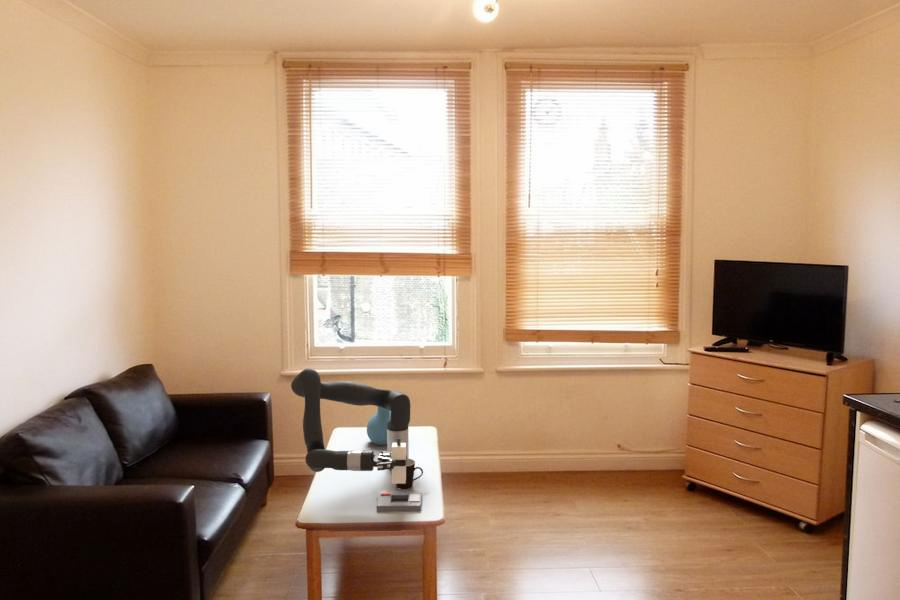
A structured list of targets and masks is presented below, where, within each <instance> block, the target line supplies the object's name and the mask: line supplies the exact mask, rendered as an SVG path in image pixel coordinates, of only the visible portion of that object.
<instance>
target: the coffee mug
mask: <svg viewBox="0 0 900 600" xmlns="http://www.w3.org/2000/svg"><path fill="white" fill-rule="evenodd" d="M417 469H419V470H420V472H421V474H420V475H419V476H417V477H416V478H414V476H415V475H414V474H415V471H416V470H417ZM423 475H424V470H423V469H422V467H420V466H416V461H415V460H414V459H412V458H409V459H407V461H406V482H405V484H396V488H397V489H399V490H403V491H404V490H409V489H412V488H413V483H414V481H417V480H418V479H420V478H421V477H422V476H423Z"/></svg>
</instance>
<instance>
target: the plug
mask: <svg viewBox="0 0 900 600" xmlns="http://www.w3.org/2000/svg"><path fill="white" fill-rule="evenodd" d="M392 460H406V443H401V438H397V443H393V444H392ZM405 482H406V466H396V467H393V469H392V470H391V484H405Z"/></svg>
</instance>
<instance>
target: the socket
mask: <svg viewBox="0 0 900 600" xmlns="http://www.w3.org/2000/svg"><path fill="white" fill-rule="evenodd" d="M421 506H422V491H395V492H394V491H391V490H388V491H386V490H385V491H384V490H383V491H382V490H381V491H380V492H379V494H378V499H377V504H376V512H413V511H415V512H419V511H421V508H422V507H421Z"/></svg>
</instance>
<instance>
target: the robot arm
mask: <svg viewBox="0 0 900 600" xmlns="http://www.w3.org/2000/svg"><path fill="white" fill-rule="evenodd" d="M290 387H291V391H292V392H293V393H294V394H295V395H296V396H298V397H301V398H304V411H303V418H302V431H303V441H304V443H305V446H306V451H307V454H306V455H305V463H306V466H307V467H308V468H309V469H310V470H311V471H312V472H316V473H318V472H322V471H323V470H325V469H332V470H335V471H352V472H372V471H373V470H374V469H375V468H377V469H376V470H377V471H386V470H391V471H392V469H393V467H396V466H406V461H407V459H410V458H409V457H410V455H409V452H410V451H409V449H410V448H409V425H410V422H411V400H410V398H409V396H408V395H407V394H405V393H404V392H401V391H398V390H395V389H393V390H392V389H385V388H384V389H382V388H376V387H374V386H370V385H367V384H363V383H361V382H356V381H350V380H341V381H330V382H328V381H327V382H325V381H322V380H321V375H320V374H319V373H318V371H316V370H315V369H313V368H310V367H309V368H305V369H303V370H302V371H300V373H298V374H297V375H296V376H295V377H294V379H292V382H291V385H290ZM321 400H327V401H332V402H338V403H343V404H348V405H353V406H359V407H362V406H375V407H378V406H379V407H382V408H385V409H387V410H389V411H390V412H391V420H390V421H388V423H387V445H386V447H387V448H386V449H387V451H386V450H385V451H384V450H381V451H380V453H378V454H377V453H376V454H375V451H374V450H373V449H372V450H371V449H356V450H355V449H354V450H330V449H326V447H325V443H324V435H323V434H324V433H323V428H322V427H323V426H322V418H321ZM397 438H401V443H406V460H392V444H393V443H397Z"/></svg>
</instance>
